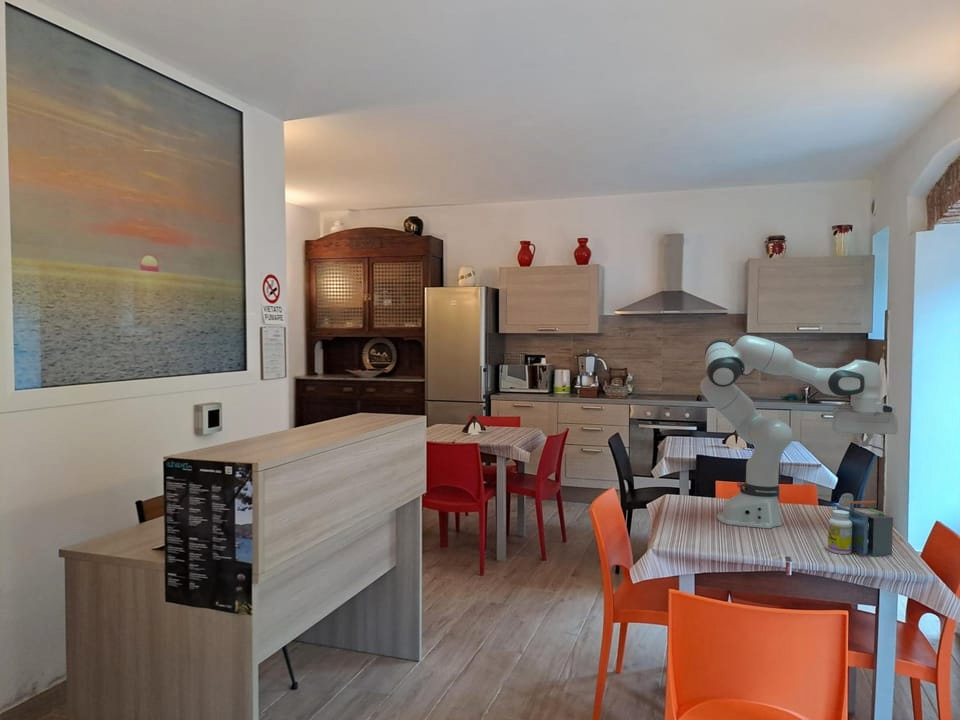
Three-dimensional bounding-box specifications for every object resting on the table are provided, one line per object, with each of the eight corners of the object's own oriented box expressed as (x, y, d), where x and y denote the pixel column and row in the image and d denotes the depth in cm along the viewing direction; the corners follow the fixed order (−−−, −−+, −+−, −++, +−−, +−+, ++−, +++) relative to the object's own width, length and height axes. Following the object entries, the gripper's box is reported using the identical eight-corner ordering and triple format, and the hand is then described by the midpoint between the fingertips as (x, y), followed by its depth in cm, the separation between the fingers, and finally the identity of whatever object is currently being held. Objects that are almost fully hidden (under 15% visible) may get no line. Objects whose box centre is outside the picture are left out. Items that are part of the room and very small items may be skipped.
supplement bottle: (824, 548, 219) (825, 508, 219) (845, 548, 218) (846, 509, 218) (833, 554, 212) (834, 513, 212) (855, 555, 212) (856, 514, 211)
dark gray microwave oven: (872, 556, 211) (873, 515, 210) (844, 545, 222) (845, 506, 222) (891, 555, 212) (893, 515, 212) (862, 544, 224) (863, 505, 223)
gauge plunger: (863, 553, 210) (865, 506, 210) (835, 542, 222) (837, 497, 221) (891, 552, 212) (893, 505, 212) (862, 541, 224) (863, 496, 223)
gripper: (836, 406, 231) (835, 446, 232) (900, 408, 228) (899, 449, 229) (829, 404, 238) (828, 443, 238) (892, 406, 235) (890, 446, 235)
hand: (863, 446), depth 233 cm, fingers closed
